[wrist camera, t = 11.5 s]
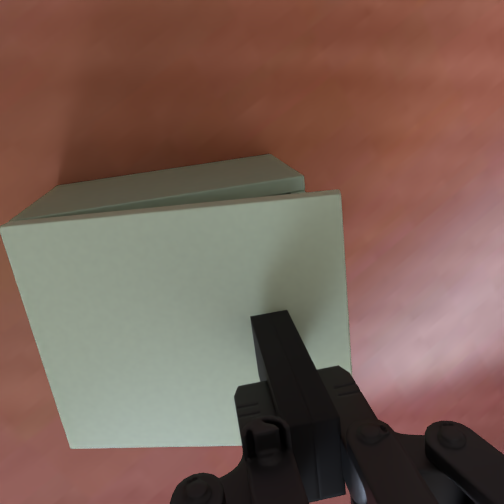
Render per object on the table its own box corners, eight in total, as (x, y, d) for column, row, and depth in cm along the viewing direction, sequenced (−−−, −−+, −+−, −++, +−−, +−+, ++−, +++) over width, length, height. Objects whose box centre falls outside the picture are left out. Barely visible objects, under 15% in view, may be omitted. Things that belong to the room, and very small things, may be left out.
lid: (339, 188, 17) (341, 194, 17) (354, 431, 21) (356, 444, 20) (9, 221, 19) (-3, 226, 19) (77, 437, 23) (70, 449, 22)
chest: (270, 153, 28) (304, 175, 21) (288, 317, 32) (322, 387, 24) (56, 185, 27) (7, 221, 19) (101, 352, 31) (75, 436, 23)
